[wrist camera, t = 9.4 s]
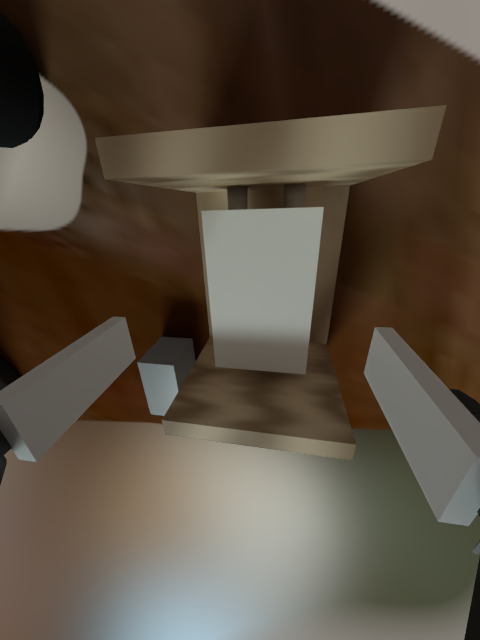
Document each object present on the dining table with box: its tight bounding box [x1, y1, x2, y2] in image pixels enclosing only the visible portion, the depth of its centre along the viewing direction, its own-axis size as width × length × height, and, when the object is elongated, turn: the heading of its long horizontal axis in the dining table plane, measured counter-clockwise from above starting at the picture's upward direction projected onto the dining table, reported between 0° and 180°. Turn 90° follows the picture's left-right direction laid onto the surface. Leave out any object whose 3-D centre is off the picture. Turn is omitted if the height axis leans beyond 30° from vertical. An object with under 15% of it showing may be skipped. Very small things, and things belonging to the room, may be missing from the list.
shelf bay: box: [95, 105, 446, 460], centre depth 20 cm, size 14×19×14 cm
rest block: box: [137, 337, 196, 416], centre depth 31 cm, size 4×8×6 cm, turn 2°
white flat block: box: [201, 207, 324, 374], centre depth 20 cm, size 8×13×3 cm, turn 2°
